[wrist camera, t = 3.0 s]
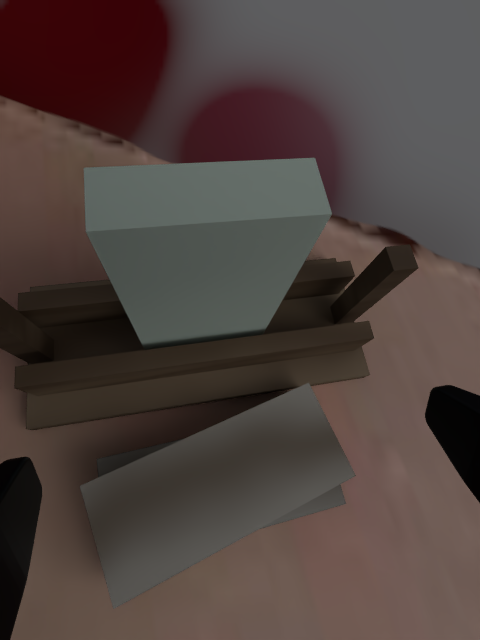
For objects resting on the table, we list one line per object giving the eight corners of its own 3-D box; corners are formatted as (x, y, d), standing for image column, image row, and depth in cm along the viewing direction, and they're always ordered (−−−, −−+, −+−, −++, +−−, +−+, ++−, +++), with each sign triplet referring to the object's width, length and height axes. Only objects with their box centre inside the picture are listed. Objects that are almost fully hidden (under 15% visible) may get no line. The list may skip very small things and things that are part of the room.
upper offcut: (343, 474, 19) (355, 475, 17) (121, 594, 16) (113, 608, 14) (300, 388, 20) (308, 382, 19) (89, 483, 17) (79, 485, 16)
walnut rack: (363, 377, 22) (448, 340, 14) (32, 430, 19) (-72, 416, 11) (331, 264, 24) (388, 184, 17) (36, 292, 21) (-47, 210, 14)
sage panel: (258, 340, 21) (331, 213, 10) (147, 355, 20) (85, 231, 9) (253, 309, 22) (314, 157, 10) (144, 322, 20) (83, 167, 9)
